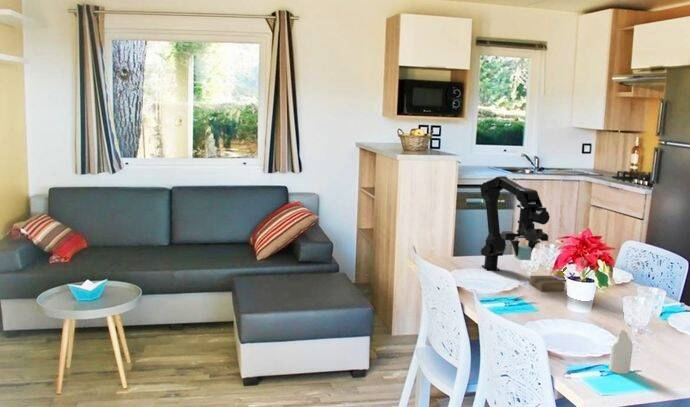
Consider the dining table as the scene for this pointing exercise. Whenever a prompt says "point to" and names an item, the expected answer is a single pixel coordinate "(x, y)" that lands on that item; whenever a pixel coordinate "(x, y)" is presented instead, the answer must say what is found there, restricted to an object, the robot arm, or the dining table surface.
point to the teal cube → (524, 252)
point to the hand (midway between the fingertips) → (522, 255)
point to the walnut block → (547, 283)
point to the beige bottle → (621, 354)
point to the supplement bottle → (559, 274)
